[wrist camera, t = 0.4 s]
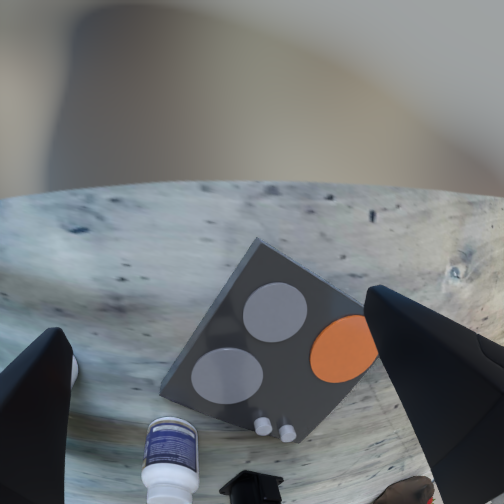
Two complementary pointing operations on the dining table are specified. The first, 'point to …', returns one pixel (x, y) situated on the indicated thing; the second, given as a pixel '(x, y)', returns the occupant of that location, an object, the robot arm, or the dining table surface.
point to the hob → (273, 349)
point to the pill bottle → (171, 461)
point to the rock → (408, 492)
